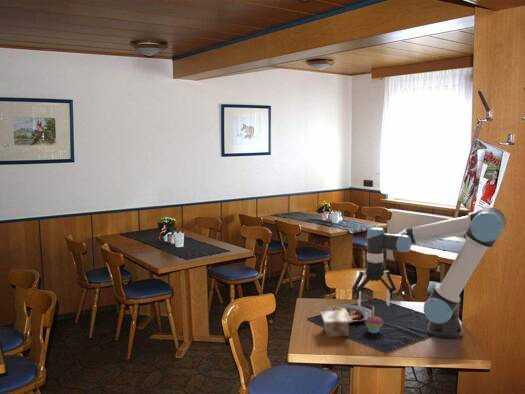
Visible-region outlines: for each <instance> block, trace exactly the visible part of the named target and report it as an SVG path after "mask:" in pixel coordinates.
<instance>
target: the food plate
mask: <svg viewBox="0 0 525 394" xmlns="http://www.w3.org/2000/svg"><path fill="white" fill-rule="evenodd" d="M325 311H348V313H349V314H350V315H351V316H350V317H351V318H352V320H353V322H352V323H354V322H365V319H367V318H368V317H370V316H373V309H370V308H367V307H365V306H362V305H361V306H359V305H358V304H346V303H345V304H335V305H331V306H329V307H327V308H326V309H325ZM355 314H358V315H355Z"/></svg>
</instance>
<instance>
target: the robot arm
mask: <svg viewBox="0 0 525 394" xmlns="http://www.w3.org/2000/svg"><path fill="white" fill-rule="evenodd" d="M505 227H506V217H505V214H504V213H503V212H502V211H501V210H500V209H498V208H494V207H485V208H481V209H480V210H476V211H472V212H470V213H468V214H467V215H465V216H464V215H463V216H460V217H456V218H452V219H445V220H441V221H437V222H432V223H428V224H423V225H417V226H413V227H406V228H401V229H400V230H398V231H397V232H395V233H386V232H385V229H384V228H383V227H369V228H368V229H367V234H366V267H365V270H366V271H362V270H359V272H358V276H357V278H356V280H355V282H354V284H352V285H353V286H352V287H351V290H352V291H353V292H355V299H357V305H358V306H362V303H361V302H362V292H361V291H362V289H363V288H365V286H366V285H367V284H368V283H369V282H370V281H371V282H379V281H381V283H382V284H383V285H384V286H385V287H386V289H387V290H386V305H387V307H389V306H391V302H390V301H391V299H392V298H393V293H394V291H397V288H396V285H395V284H394V283H395V282H394V281H393V279H392V277H391V272H390V271H389V270H386V269H385V270H384V251H392V252H400V253H409V252H410V250H411V247H412V245H414V244H419V243H424V242H429V241H435V240H440V239H445V238H451V237H454V236H455V237H456V236H460V235H465V238H466V240H465V242H464V244H463V245H462V247H461V249H460V250H459V251H458V252H459V253H458V254H457V256H456V257H455V259H454V260H453V263H452V264H451V266H450V267H449V269H448V271H447V273H446V275H445V276H444V277H443V280H442V281H441V282H436V283H433V284H432V288H431V289H432V292H431V294H430V295H429V296H428V298H427V300H425V302H424V305H423V313H424V316H425V317H426V318H427V319H428V320H429V321H428V323H427V324H428V325H427V332H428V334H430V335H431V336H434V337H436V338H439V339H448V340H452V339H459V338H460V337H462V336H463V328H462V326H461V325H462V324H461V321H460V319H459V315H460V314H459V313H460V309H459V308H460V301H461V297H460V294H461V293H462V291H463V290H464V288H465V286H466V284H467V283H468V281H469V279H470V278H471V276H472V275H473V272H474V271H475V269H476V267H477V266H478V264H479V262H480V261H481V259H482V258H483V256H484V254H485V252H487V251H486V250H489V249H492V248H493V246H494V245H495V244H496V242H497V240H498V238H499V237H500V236H501V234H502V233H503V230H504V228H505ZM384 275H385V277H386V278H387V280H388V282H389V284H390V286H391V287H390V286H389V285H388V283H387V282H386V281H385V280H384V278H383V276H384ZM364 276H365V277H364ZM363 277H364V280H363V281H362V279H363ZM361 281H362V282H361Z"/></svg>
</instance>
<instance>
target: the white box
mask: <svg viewBox="0 0 525 394" xmlns="http://www.w3.org/2000/svg"><path fill="white" fill-rule="evenodd" d="M319 313H320V316H321V319H322V320H323V330H324V332H325V335H326V337H327V338H331V337H332V338H333V337H338V336H340V337H350V336H349V335H350V330H349V329H350V326H349V325H350V323H354V322H353V320H352V318H351V317H350V315H349V314H350V313H349V310H347V311H326V310H324V311H319Z"/></svg>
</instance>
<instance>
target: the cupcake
mask: <svg viewBox="0 0 525 394" xmlns="http://www.w3.org/2000/svg"><path fill="white" fill-rule="evenodd" d="M364 324H365V325H366V327H367V330H368V332H369V333H371V334H377V333H379V332H380V329H381V327H382V326H383V325H384V320H383V319H382V318H381V317H380V316H375V307H374V306H372V315H371V316H370V317H368V318H367V319H365V320H364Z"/></svg>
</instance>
